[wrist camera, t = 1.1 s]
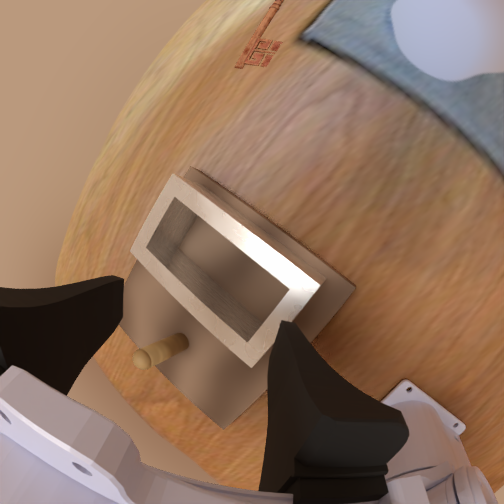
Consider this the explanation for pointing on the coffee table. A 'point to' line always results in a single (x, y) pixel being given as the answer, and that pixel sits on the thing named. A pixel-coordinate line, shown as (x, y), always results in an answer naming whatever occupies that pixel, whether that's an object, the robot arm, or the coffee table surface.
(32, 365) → the robot arm
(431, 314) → the coffee table surface
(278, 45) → the key
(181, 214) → the cream hollow block
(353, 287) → the board
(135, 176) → the coffee table surface
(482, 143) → the coffee table surface
